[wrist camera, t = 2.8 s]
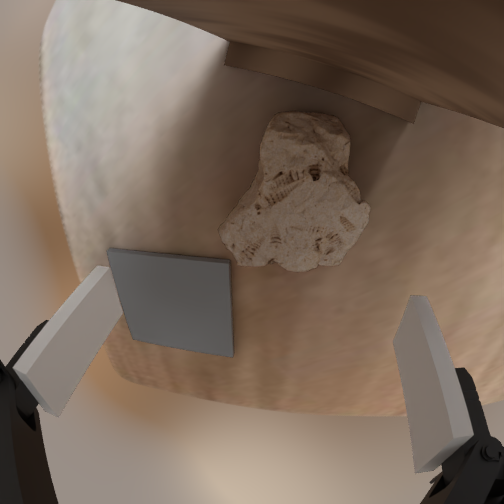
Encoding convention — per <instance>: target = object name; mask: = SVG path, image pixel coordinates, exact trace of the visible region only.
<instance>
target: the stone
mask: <svg viewBox="0 0 504 504" xmlns="http://www.w3.org/2000/svg"><path fill="white" fill-rule="evenodd" d="M350 145H351V142H350V136H349V134H348V133H347V131H346V130H345V128H344V126H343V124H342V123H341V121H340V120H339V118H337V117H336V116H334V115H325V114H322V113H316V112H314V113H313V112H310V113H307V112H306V113H304V112H297V111H289V112H279V113H277V114H275V115H274V117H273V118H272V119H271V121H270V122H269V124H268V126H267V129H266V131H265V133H264V135H263V139H262V142H261V144H260V151H259V154H260V160H259V161H258V163H259V169H258V173H257V174H256V176H255V179H254V181H253V182H252V185H251V187H250V188H249V189H248V191H246V193H245V194H244V195H243V196H242V198H241V199H240V201H239V202H238V204H237V206H236V207H234V209H233V210H232V212H231V213H230V214H229V215H228V217H227V219H226V220H225V222H224V223H222V224H221V225H220V227H219V229H218V231H219V235H220V237H221V240H222V242H223V244H224V245H225V246H226V248H227V249H228V250H230V251H231V252H232V253H233V255H234V258H235V259H236V260H237V265H239V266H252V267H257V266H265V265H267V264H273V263H274V262H277V263H279V265H280V266H281V267H283V268H284V269H285V270H288V271H293V272H305V271H308V270H310V269H314V268H317V267H318V265H322V266H325V265H326V266H337V265H339V264H340V263H341V262H342V260H343V258H344V256H345V255H346V253H347V252H348V250H349V249H350V248H351V247H352V246H353V245H354V244H355V243H356V241H357V240H358V238H359V237H360V235H361V233H362V231H363V230H364V228H365V227H366V225H367V224H368V221H369V213H370V207H371V206H370V205H369V204H368V203H367V202H366V201H361V198H360V195H361V193H360V191H359V188H358V187H357V186H356V183H355V181H354V180H352V179H351V178H350V177H349V176H348V174H349V172H348V161H349V154H350Z"/></svg>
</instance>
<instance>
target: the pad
mask: <svg viewBox="0 0 504 504" xmlns="http://www.w3.org/2000/svg"><path fill="white" fill-rule="evenodd" d="M107 255H108V259H109V263H110V267H111V270H112V274H113V278H114V281H115V285H116V288H117V292H118V295H119V298H120V302H121V305H122V308H123V311H124V314H125V317H126V321H127V324H128V327H129V330H130V332H131V335H132V338H133V340H138V341H142V342H147V343H152V344H157V345H162V346H167V347H172V348H178V349H183V350H189V351H194V352H200V353H206V354H213V355H219V356H226V357H233V356H234V338H233V318H232V295H231V271H230V260H225V259H215V258H204V257H194V256H184V255H173V254H163V253H153V252H143V251H133V250H124V249H114V248H109V249H108V250H107Z"/></svg>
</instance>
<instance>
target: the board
mask: <svg viewBox="0 0 504 504" xmlns="http://www.w3.org/2000/svg"><path fill="white" fill-rule="evenodd" d="M117 1H121V2H124V3H128V4H131V5H135V6H138V7H141V8H144V9H148V10H151V11H154V12H157V13H160V14H163V15H165V16H168V17H171V18H174V19H177V20H179V21H182V22H184V23H187V24H190V25H192V26H195V27H197V28H200V29H202V30H204V31H207V32H209V33H211V34H214V35H216V36H218V37H221V38H223V39H225V40H227V41H229V42H230V43H229V47H228V51H227V55H226V59H225V63H224V65H226V66H231V67H237V68H242V69H247V70H251V71H256V72H260V73H265V74H269V75H273V76H277V77H281V78H285V79H289V80H292V81H296V82H300V83H303V84H307V85H310V86H313V87H317V88H320V89H323V90H326V91H330V92H333V93H336V94H339V95H342V96H345V97H347V98H350V99H353V100H356V101H359V102H361V103H364V104H367V105H369V106H372V107H374V108H377V109H380V110H382V111H385V112H387V113H389V114H392V115H394V116H397V117H399V118H401V119H404V120H406V121H408V122H410V123H413V124H414V122H415V119H416V116H417V113H418V110H419V107H420V104H421V102H424V103H428V104H432V105H436V106H439V107H443V108H446V109H449V110H453V111H456V112H459V113H462V114H465V115H468V116H471V117H474V118H477V119H480V120H483V121H486V122H488V123H491V124H494V125H496V126H499V127H502V128H504V0H117Z"/></svg>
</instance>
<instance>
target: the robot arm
mask: <svg viewBox="0 0 504 504" xmlns="http://www.w3.org/2000/svg"><path fill="white" fill-rule="evenodd" d="M122 314H123V311H122V307H121V304H120V301H119V297H118V294H117V290H116V287H115V283H114V280H113V276H112V272H111V268H110V267H105V266H96V267H95V268H94V269H93V271H92V272H91V273H90V274H89V275H88V276H87V277H86V278H85V279H84V280H83V282H82V283H81V284H80V285H79V286H78V287H77V288H76V289H75V291H74V292H73V293H72V294H71V295H70V297H69V298H68V299H67V300H66V301H65V302H64V303H63V305H62V306H61V307H60V308H59V309H58V311H57V312H56V313H55V314H54V315H53V317H52V318H51V319H50V320H46V321H44V322H43V323H41V324H40V325H39V326H37V327H36V328H35V330H34V331H33V332H32V333H31V334H30V337H28V338H27V339H26V341H25V343H23V345H22V346H21V347H20V348H19V350H18V351H17V352H16V354H15V355H14V356H13V358H12V359H11V360H10V362H9V363H8V364H7V366H6V367H5V366H4V364H3V363H2V362H1V360H0V504H58V501H57V497H56V494H55V490H54V486H53V483H52V479H51V475H50V471H49V467H48V462H47V458H46V453H45V448H44V443H43V437H42V431H41V425H40V418H39V413H38V410H37V408H36V407H37V405H38V404H40V405H41V407H42V408H43V409H44V410H45V411H46V412H48V413H50V414H52V415H54V416H56V417H59V416H60V415H61V413H62V411H63V409H64V408H65V405H66V404H67V402H68V401H69V399H70V397H71V395H72V394H73V392H74V390H75V389H76V387H77V385H78V384H79V382H80V380H81V378H82V377H83V375H84V374H85V372H86V370H87V368H88V367H89V365H90V363H91V362H92V360H93V359H94V357H95V356H96V354H97V353H98V351H99V349H100V348H101V346H102V345H103V343H104V342H105V340H106V338H107V337H108V335H109V334H110V332H111V331H112V329H113V328H114V326H115V325H116V323H117V322H118V320H119V318H120V317H121V315H122ZM393 345H394V349H395V354H396V358H397V363H398V367H399V372H400V377H401V382H402V387H403V393H404V398H405V404H406V410H407V416H408V422H409V429H410V436H411V443H412V451H413V459H414V469H415V473H421V472H428V471H434V470H435V469H436V468H437V467H438V466H440V465H442V472H441V473H440V474H438V475H437V476H436V477H435V478H433V479H432V480H431V481H430V483H431V484H432V483H433V482H434V484H433V486H432V487H431V488H430V490H429V491H428V493H427V494H426V496H425V497H424V499H423V500H422V502H421V503H420V504H504V447H503V446H502V444H501V442H500V441H499V440H498V439H496V438H494V437H491V436H490V433H489V430H488V426H487V423H486V419H485V416H484V412H483V409H482V406H481V402H480V401H479V396H478V393H477V391H476V387H475V384H474V381H473V379H472V377H471V375H470V374H469V373H468V372H467V370H466V369H465V368H454V365H453V362H452V359H451V357H450V354H449V351H448V348H447V346H446V343H445V340H444V338H443V335H442V332H441V330H440V327H439V325H438V322H437V320H436V317H435V315H434V313H433V310H432V308H431V305H430V303H429V301H428V298H427V296H415V295H411V296H410V299H409V302H408V304H407V307H406V310H405V312H404V315H403V318H402V320H401V323H400V325H399V328H398V330H397V333H396V335H395V338H394V340H393Z"/></svg>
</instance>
